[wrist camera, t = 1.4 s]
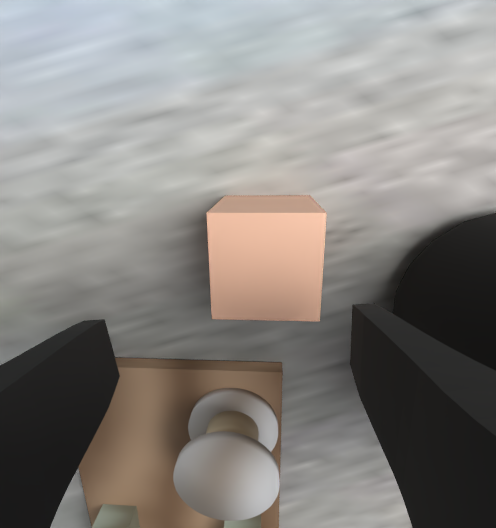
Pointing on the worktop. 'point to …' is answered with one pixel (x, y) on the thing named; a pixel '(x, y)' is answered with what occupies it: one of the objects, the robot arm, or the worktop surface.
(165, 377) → the notched board
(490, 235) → the coffee jar
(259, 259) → the block
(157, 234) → the worktop surface
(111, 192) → the worktop surface
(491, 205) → the worktop surface
